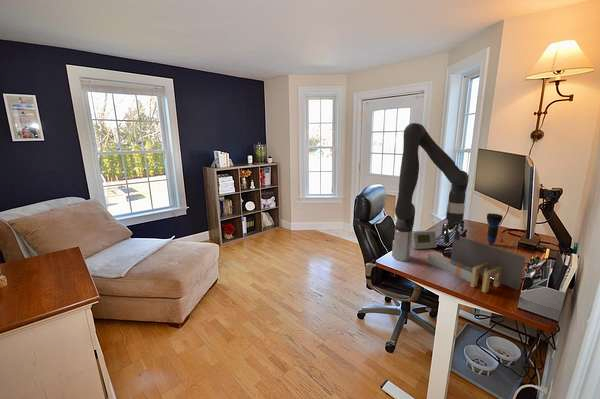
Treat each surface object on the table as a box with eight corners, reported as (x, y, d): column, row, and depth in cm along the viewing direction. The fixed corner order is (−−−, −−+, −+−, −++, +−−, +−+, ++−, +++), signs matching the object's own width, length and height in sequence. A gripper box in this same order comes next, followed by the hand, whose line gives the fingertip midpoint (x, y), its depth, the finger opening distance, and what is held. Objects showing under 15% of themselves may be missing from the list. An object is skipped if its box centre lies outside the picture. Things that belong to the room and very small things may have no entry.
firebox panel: (450, 261, 147) (453, 234, 143) (451, 261, 147) (455, 234, 144) (517, 289, 119) (524, 257, 116) (519, 289, 120) (525, 256, 116)
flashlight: (488, 241, 175) (493, 212, 170) (500, 245, 167) (505, 215, 163) (479, 243, 172) (484, 213, 168) (491, 247, 165) (496, 217, 160)
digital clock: (412, 249, 164) (414, 233, 161) (407, 244, 172) (409, 228, 170) (439, 250, 163) (441, 234, 160) (433, 244, 171) (435, 229, 169)
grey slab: (427, 262, 146) (428, 254, 145) (433, 260, 149) (434, 252, 147) (471, 282, 125) (473, 273, 124) (477, 280, 128) (479, 270, 127)
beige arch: (470, 286, 123) (472, 267, 121) (484, 279, 128) (487, 261, 126) (473, 287, 122) (476, 268, 119) (488, 280, 127) (490, 262, 125)
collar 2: (481, 291, 118) (484, 272, 116) (496, 284, 124) (499, 265, 122) (485, 292, 117) (488, 273, 115) (499, 285, 123) (502, 267, 120)
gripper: (456, 207, 138) (453, 236, 141) (439, 211, 131) (435, 241, 135) (471, 210, 131) (467, 241, 135) (453, 214, 125) (449, 246, 128)
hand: (451, 241), depth 135 cm, fingers open, 8 cm apart
